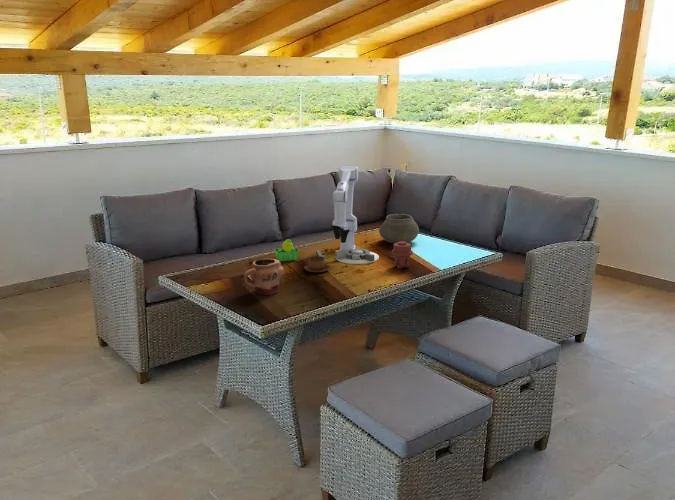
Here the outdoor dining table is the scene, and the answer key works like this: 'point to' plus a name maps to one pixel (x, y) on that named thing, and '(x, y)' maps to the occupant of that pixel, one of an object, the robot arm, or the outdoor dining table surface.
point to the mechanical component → (402, 254)
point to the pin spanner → (321, 254)
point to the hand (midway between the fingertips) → (340, 240)
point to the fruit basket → (287, 252)
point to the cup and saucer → (316, 264)
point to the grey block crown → (348, 254)
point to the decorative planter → (265, 276)
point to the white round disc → (368, 259)
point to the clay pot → (399, 228)
